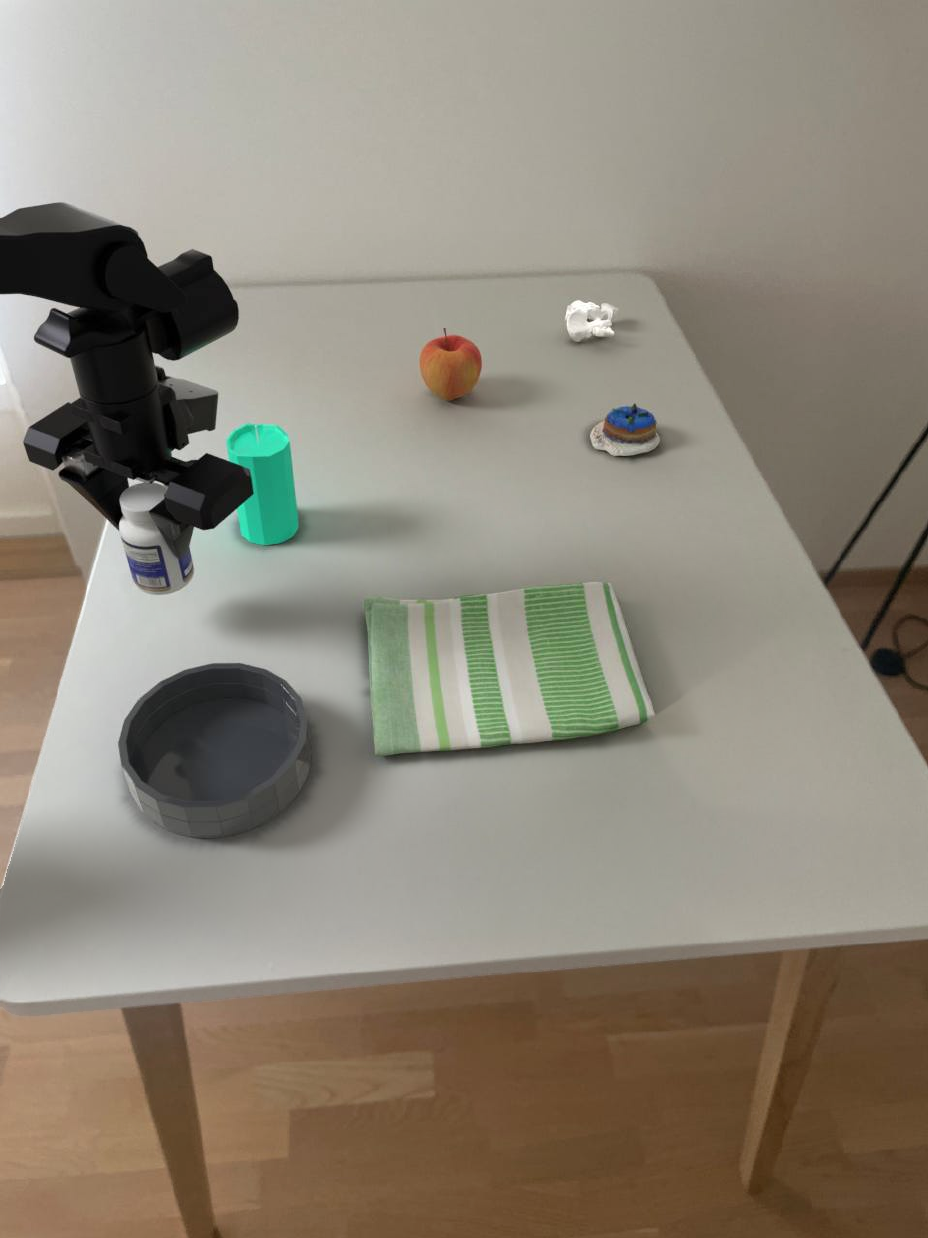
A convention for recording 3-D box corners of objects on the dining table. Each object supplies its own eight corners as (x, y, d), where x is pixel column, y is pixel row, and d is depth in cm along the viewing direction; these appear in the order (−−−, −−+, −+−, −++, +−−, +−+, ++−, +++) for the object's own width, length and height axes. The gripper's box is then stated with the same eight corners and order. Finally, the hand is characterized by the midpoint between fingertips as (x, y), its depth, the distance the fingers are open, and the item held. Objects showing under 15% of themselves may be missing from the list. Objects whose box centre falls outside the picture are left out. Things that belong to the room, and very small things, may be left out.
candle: (294, 546, 97) (283, 445, 89) (234, 544, 97) (217, 442, 89) (302, 508, 101) (292, 409, 93) (245, 506, 101) (229, 406, 93)
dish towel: (363, 609, 91) (362, 587, 89) (607, 593, 94) (611, 572, 92) (375, 762, 79) (374, 741, 77) (656, 739, 81) (662, 718, 79)
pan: (142, 861, 72) (131, 830, 69) (119, 718, 81) (109, 686, 78) (330, 808, 75) (327, 777, 73) (288, 678, 85) (284, 646, 82)
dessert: (660, 417, 115) (664, 397, 109) (657, 471, 114) (660, 453, 108) (592, 414, 116) (592, 393, 110) (588, 467, 115) (588, 449, 109)
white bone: (616, 323, 125) (565, 312, 125) (609, 353, 128) (559, 342, 128) (622, 295, 130) (573, 284, 130) (614, 323, 133) (567, 313, 134)
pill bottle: (173, 549, 89) (155, 469, 83) (206, 577, 86) (190, 497, 80) (121, 575, 86) (98, 494, 80) (153, 605, 84) (133, 524, 77)
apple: (444, 417, 115) (446, 356, 109) (407, 390, 119) (407, 330, 113) (492, 398, 118) (496, 337, 112) (454, 372, 122) (456, 312, 116)
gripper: (285, 369, 75) (300, 528, 86) (98, 309, 81) (135, 465, 92) (192, 440, 68) (222, 603, 79) (-6, 368, 74) (47, 529, 85)
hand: (156, 544), depth 84 cm, fingers closed on pill bottle, 5 cm apart
